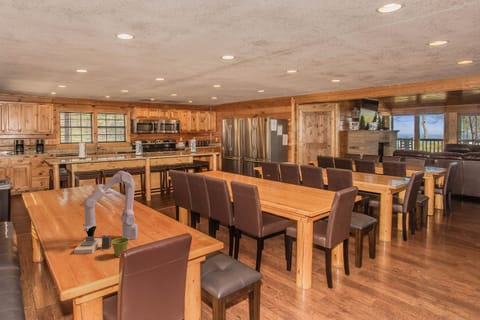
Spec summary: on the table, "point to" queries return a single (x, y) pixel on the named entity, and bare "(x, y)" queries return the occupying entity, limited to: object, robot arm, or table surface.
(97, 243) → the socket plate
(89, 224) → the robot arm
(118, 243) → the plant pot
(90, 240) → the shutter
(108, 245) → the plug
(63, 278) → the table surface
